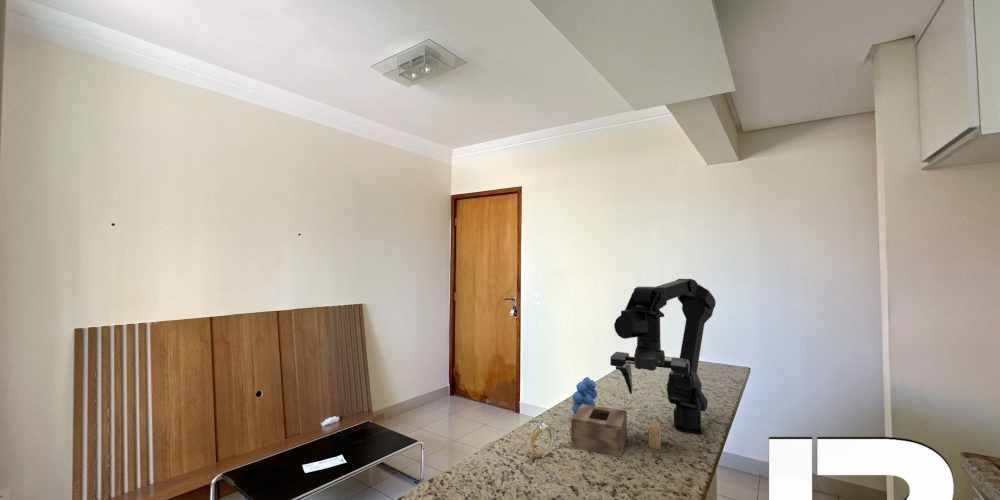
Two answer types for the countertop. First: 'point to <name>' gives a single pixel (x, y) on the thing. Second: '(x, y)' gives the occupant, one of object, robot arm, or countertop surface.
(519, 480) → the countertop surface
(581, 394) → the grapes
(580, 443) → the box
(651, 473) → the countertop surface
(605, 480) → the countertop surface
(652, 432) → the tan flat block
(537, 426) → the ring
